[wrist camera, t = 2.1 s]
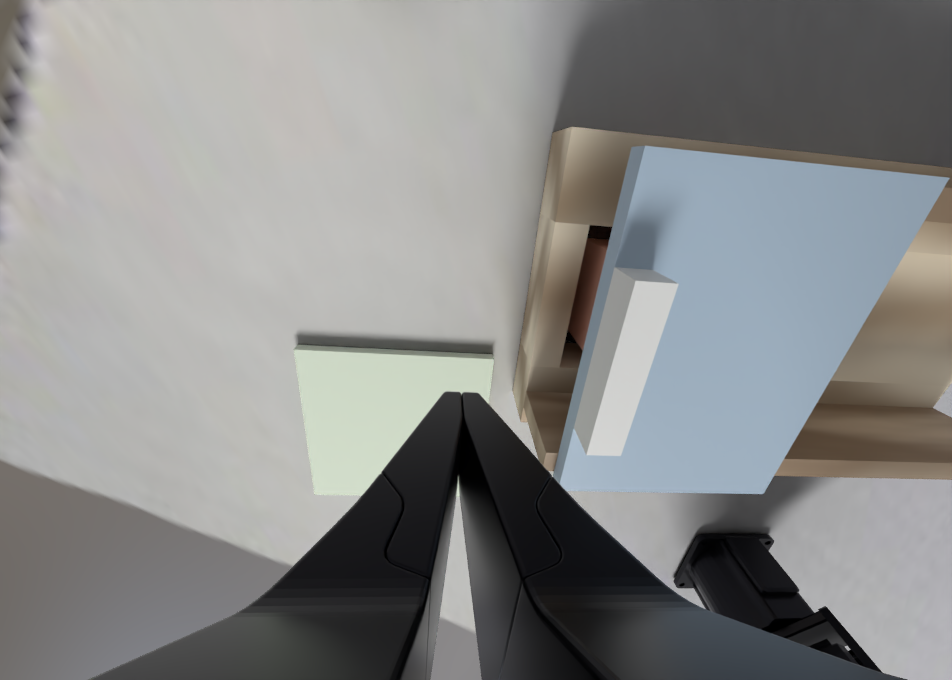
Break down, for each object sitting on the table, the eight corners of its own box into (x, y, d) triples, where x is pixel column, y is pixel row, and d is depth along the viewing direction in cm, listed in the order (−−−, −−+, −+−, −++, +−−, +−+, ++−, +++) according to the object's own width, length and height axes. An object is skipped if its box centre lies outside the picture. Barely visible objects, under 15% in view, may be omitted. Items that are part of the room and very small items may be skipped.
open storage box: (861, 405, 25) (1014, 496, 18) (512, 391, 23) (538, 488, 16) (1009, 181, 19) (1321, 191, 12) (552, 132, 17) (621, 111, 10)
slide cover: (749, 479, 16) (790, 523, 14) (553, 475, 16) (567, 521, 14) (917, 176, 11) (1019, 179, 9) (631, 146, 10) (674, 143, 8)
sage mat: (476, 490, 26) (477, 497, 26) (317, 487, 25) (314, 494, 25) (492, 354, 21) (494, 359, 21) (297, 344, 20) (293, 349, 20)
